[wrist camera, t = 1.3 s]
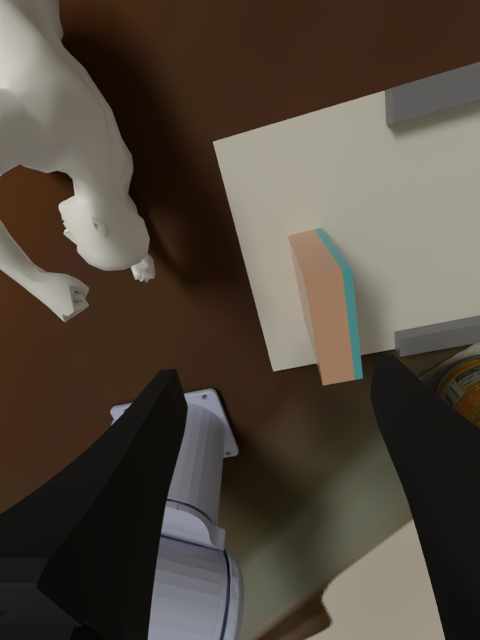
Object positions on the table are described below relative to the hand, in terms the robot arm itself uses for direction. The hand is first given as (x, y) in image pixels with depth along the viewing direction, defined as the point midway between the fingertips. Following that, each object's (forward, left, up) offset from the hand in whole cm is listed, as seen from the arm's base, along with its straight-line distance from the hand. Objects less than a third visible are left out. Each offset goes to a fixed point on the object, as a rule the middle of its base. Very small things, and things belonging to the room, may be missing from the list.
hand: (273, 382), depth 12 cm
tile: (+3, -1, -11) cm, 11 cm away
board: (+8, 0, -12) cm, 14 cm away
